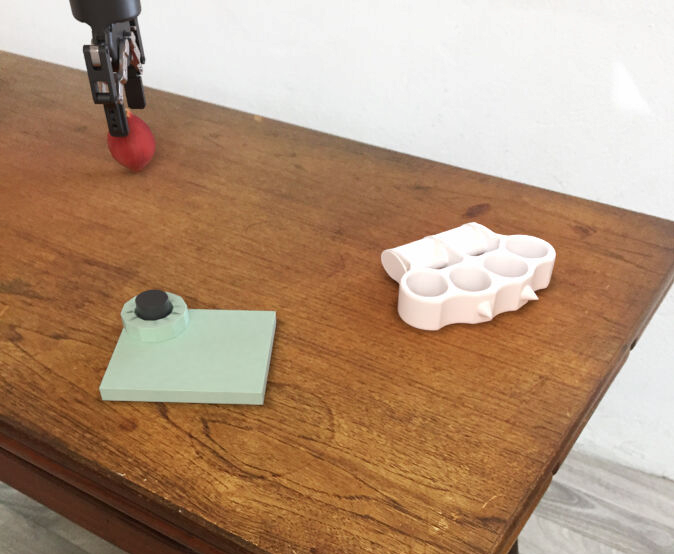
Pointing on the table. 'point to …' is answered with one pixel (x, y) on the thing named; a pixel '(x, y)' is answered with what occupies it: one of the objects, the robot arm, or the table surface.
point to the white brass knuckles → (467, 275)
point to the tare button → (152, 305)
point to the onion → (133, 144)
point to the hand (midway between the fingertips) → (129, 121)
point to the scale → (191, 356)
